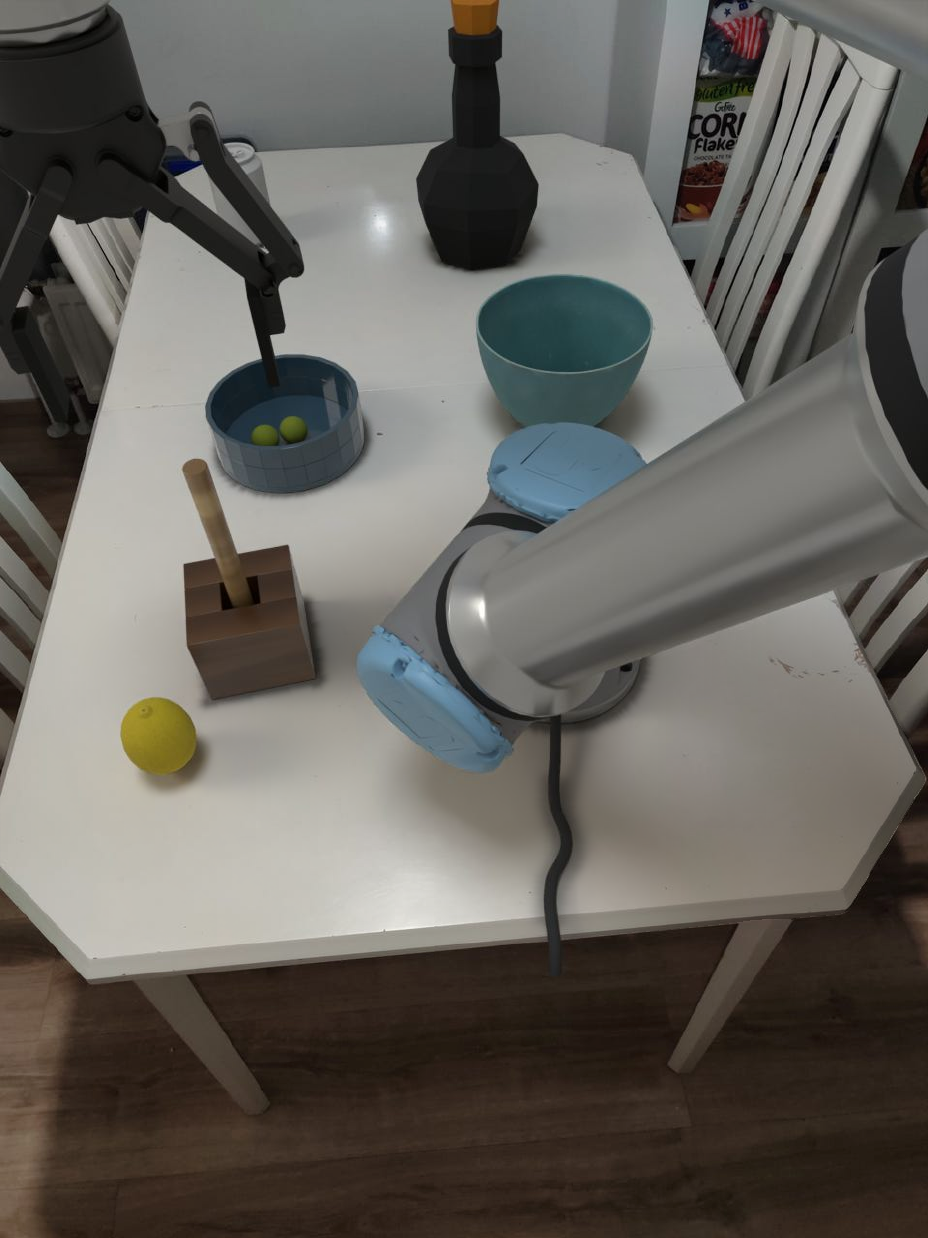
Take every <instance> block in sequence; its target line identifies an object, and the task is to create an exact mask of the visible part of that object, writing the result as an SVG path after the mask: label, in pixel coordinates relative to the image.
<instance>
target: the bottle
mask: <svg viewBox="0 0 928 1238" xmlns="http://www.w3.org/2000/svg"><path fill="white" fill-rule="evenodd" d="M450 6H451V15H452V22H453V26H451V27H450V28H448V29H447V35H448V36H447V39H448V40H447V43H448V57H449V59H450V60H451V62H452V64H453V65H454V70H453V80H452V88H451V89H452V90H451V116H452V117H451V118H452V120H451V121H452V137H451V138H449V139H447V141H444V142H442V143H440V144H438V145H436V146H434V147H432V148H430V149H429V151H428V153H427V155H426V158H425V159H424V162H423V164H422V165H421V168H420V170H419V172H418V174H417V176H416V178H415V183H416V192H417V200H418V204H419V207H420V211H421V214H422V217H423V220H424V223H425V227H426V228H427V231H428V233H429V236H430V238H431V240H432V243H433V245H434V248H435V250H436V253H437V255H438V257H439V259H440V262H441V263H444V264H448V265H451V266H454V267H458V268H461V269H464V270H467V271H471V272H472V271H479V270H485V269H491V268H492V269H493V268H498V267H499V268H500V267H505V266H507V265H508V264H509V263H510V262H511V261H512V260H513V259H514V258H515V257H516V256H517V255H518V254H519V253H521V251H522V248H523V246H524V243H525V241H526V237H527V235H528V232H529V231H530V227H531V224H532V221H533V219H534V216H535V213H536V210H537V208H538V199H539V189H540V187H539V186H540V183H539V181H538V180H537V178H536V176H535V174H534V172H533V170H532V168H531V166H530V164H529V162H528V160H527V158H526V156H525V154H524V153H523V151H522V150H521V149H520V148H519V146H518V145H517V144H516V143H515V142H513V141H511V140H510V139H508V138H505V137H504V136H501V94H500V86H499V85H500V84H499V78H498V71H497V65H496V64H497V62H498V61H499V60H501V59H502V58H503V29H502V28H501V27H500V26H499V25H498V16H499V6H500V0H450Z"/></svg>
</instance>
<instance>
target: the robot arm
mask: <svg viewBox="0 0 928 1238" xmlns="http://www.w3.org/2000/svg"><path fill="white" fill-rule="evenodd" d="M751 1H752V2H755V3H756V4H758V5H761V6H763V7H765V8H767V9H768V10H771V11H774V12H776V13H778V14H779V15H782V16H784V17H786V18H788V19H791V20H793V21H795V22H797V23H799V24H802V25H804V26H806V27H808V28H810V29H812V30H815V31H817V32H819V33H821V34H823V35H825V36H827V37H829V38H832V39H834V40H836V41H838V42H840V43H843V44H844V45H846V46H849V47H851V48H853V49H855V50H857V51H859V52H862V53H864V54H866V55H868V56H870V57H873V58H874V59H877V60H879V61H881V62H883V63H885V64H887V65H890V66H892V67H894V68H896V69H898V70H900V71H902V72H905V73H907V74H909V75H911V76H913V77H915V78H917V79H920V80H922V81H924V82H925V83H928V0H751ZM110 2H111V0H0V170H1V171H2V172H3V173H4V174H5V175H6V176H7V177H9V178H10V179H11V180H13V182H15V183H16V184H17V185H19V186H20V187H21V188H23V189H24V190H25V191H27V192H28V193H29V195H28V198H27V201H26V204H25V208H24V210H23V212H22V215H21V216H20V220H19V222H18V224H17V227H16V229H15V232H14V235H13V237H12V239H11V241H10V244H9V246H8V249H7V250H6V254H5V256H4V257H3V261H2V264H1V266H0V350H1V351H2V353H3V355H4V357H5V359H6V361H7V363H8V365H9V367H10V369H12V370H13V371H14V372H15V374H17V375H24V374H25V375H26V374H31V377H32V378H33V380H34V382H35V384H36V387H37V388H38V390H39V392H40V395H41V396H42V399H43V400H44V402H45V404H46V406H47V408H48V410H49V413H50V415H51V416H52V418H53V420H54V422H55V423H61V422H67V421H68V419H69V407H70V396H71V394H70V392H69V390H68V388H67V385H66V384H65V382H64V380H63V378H62V375H61V373H60V371H59V369H58V367H57V365H56V362H55V360H54V359H53V356H52V354H51V352H50V349H49V347H48V345H47V342H46V341H45V339H44V336H43V335H42V332H41V330H40V328H39V326H38V323H37V321H36V320H35V319H36V318H35V317H34V315H33V313H32V310H31V308H30V306H29V305H24V306H18V304H19V303H20V300H21V298H22V296H23V294H24V291H25V289H26V286H27V284H28V282H29V280H30V277H31V275H32V272H33V270H34V268H35V267H36V266H35V265H36V263H37V261H38V259H39V257H40V254H41V252H42V249H43V247H44V245H45V242H46V240H48V238H49V236H50V234H51V232H52V230H53V227H54V225H55V223H56V221H57V219H58V216H60V217H62V218H64V219H65V220H70V221H74V224H75V225H76V226H77V225H78V226H79V225H85V224H91V223H93V222H96V221H98V220H100V219H103V218H109V219H110V218H111V219H117V220H122V219H130V218H135V213H138V212H139V211H140V210H141V209H145V210H146V211H147V212H148V213H150V214H152V215H153V216H154V217H156V219H158V220H160V221H161V222H163V223H164V224H168V223H169V224H171V225H172V226H173V227H175V228H176V229H177V230H179V231H180V232H181V233H183V234H184V235H185V236H187V237H188V238H189V239H191V241H193V242H195V243H196V244H197V245H199V246H200V247H202V248H203V249H204V250H205V251H207V252H208V253H210V254H211V255H212V256H213V257H215V258H216V259H218V260H219V261H220V262H221V263H223V264H224V265H226V266H227V267H228V268H230V269H231V270H232V271H234V272H235V273H236V274H238V275H239V276H241V278H243V279H244V287H245V293H246V300H247V304H248V308H249V313H250V316H251V320H252V321H251V322H252V326H253V328H254V333H255V337H256V341H257V345H258V350H259V353H260V359H261V358H262V362H263V366H264V370H265V374H266V378H267V382H268V386H269V388H272V387H278V386H280V381H279V375H278V369H277V363H276V359H275V356H276V354H275V350H274V347H273V341H272V338H271V336H275V335H281V334H282V335H283V334H285V331H286V326H287V325H286V319H285V314H284V309H283V304H282V299H281V294H280V290H279V289H280V285H281V284H282V282H283V281H285V280H286V279H289V278H294V279H295V278H296V279H297V278H300V277H301V276H302V275H304V272H305V263H304V259H303V254H302V250H301V246H300V243H299V242H298V241H297V239H296V238H295V237H294V235H293V234H292V233H291V231H290V229H288V227H287V226H286V224H285V223H284V222H283V221H282V219H281V218H280V216H278V214H277V213H276V211H275V210H274V209H273V208H272V206H271V204H270V205H269V203H268V202H267V201H266V200H265V198H264V197H263V196H262V194H261V193H260V192H259V190H258V189H257V188H256V186H255V185H254V184H253V182H252V181H251V180H250V178H249V177H248V176H247V174H246V173H245V172H244V170H243V169H242V168H241V166H240V165H239V164H238V162H237V161H236V160H235V159H234V157H233V156H232V155H231V153H230V152H229V151H228V149H227V148H226V147H225V145H224V144H225V143H223V139H222V137H221V134H220V131H219V128H218V125H217V123H216V119H215V116H214V114H213V110H212V109H211V107H210V106H209V105H208V104H207V103H206V102H205V101H201V100H196V101H194V102H192V103H191V104H190V105H189V107H188V112H185V113H181V114H177V115H173V116H169V117H164V118H161V119H159V118H158V116H157V115H156V114H155V113H154V111H153V110H152V109H151V107H150V105H149V104H148V101H147V99H146V96H145V93H144V89H143V85H142V81H141V78H140V75H139V72H138V68H137V64H136V61H135V57H134V54H133V50H132V48H131V43H130V41H129V37H128V33H127V30H126V27H125V22H124V19H123V16H122V15H121V14H120V13H119V12H118V11H117V10H116V9H115V8H114V7H113V6H112V5H110V4H109V3H110ZM168 147H175V148H177V149H179V151H181V153H183V155H184V156H185V158H187V160H189V161H191V162H201V164H202V167H203V169H204V170H205V172H206V174H207V177H208V176H209V177H210V178H211V180H212V181H213V183H214V184H215V185H216V186H217V188H218V189H219V190H220V191H221V193H222V194H223V195H224V197H225V198H226V199H227V200H228V202H229V203H230V204H231V205H232V207H233V208H234V209H235V210H236V212H237V213H238V214H239V215H240V217H241V218H242V219H243V220H244V222H245V223H246V224H247V225H248V227H249V228H250V229H251V230H252V232H253V233H254V234H255V235H256V237H257V238H258V239H259V240H260V242H261V243H262V246H263V247H264V248H265V249H266V251H267V252H265V251H264V250H263V249H262V248H261V247H260V246H256V245H255V244H254V243H253V242H251V241H250V240H249V239H248V238H246V237H245V236H244V235H243V234H241V233H240V232H239V231H237V230H236V229H235V228H234V227H232V226H231V225H230V224H229V223H227V222H226V221H225V220H224V219H222V218H221V217H220V216H218V214H217V212H215V211H214V210H212V208H210V207H209V206H207V205H206V204H205V203H203V202H202V201H201V200H200V199H198V198H197V197H196V196H194V194H193V193H190V191H188V190H187V189H185V188H184V187H183V186H182V185H181V183H180V182H179V180H178V179H177V178H176V177H175V176H174V175H173V174H171V172H169V171H168V170H167V169H165V168H164V167H163V166H162V163H163V161H164V158H165V156H166V153H167V148H168ZM486 476H487V478H486V480H487V484H488V486H489V490H488V493H487V496H486V499H485V501H484V502H483V503H482V505H481V506H480V507H479V508H478V510H477V511H476V512H475V513H474V515H473V516H472V517H471V518H470V519H469V521H468V522H467V523H466V524H465V525H464V526H463V528H462V529H461V530H460V531H459V533H457V534H456V535H455V537H454V538H452V540H451V541H450V542H449V544H448V545H446V547H445V548H444V550H443V551H442V552H441V553H440V554H439V555H438V556H437V558H436V559H435V560H434V561H433V562H432V563H431V564H430V566H429V567H428V568H427V569H426V570H425V571H424V572H423V574H422V575H421V576H420V577H419V578H418V580H417V581H416V582H415V583H414V585H413V586H412V587H411V588H410V589H409V590H408V591H407V593H406V594H405V595H404V596H403V598H401V600H400V601H399V602H398V603H397V605H395V607H393V609H392V610H391V611H390V612H389V614H388V615H387V616H386V617H385V619H383V621H382V622H381V623H380V624H379V625H376V626H375V627H374V628H373V629H372V634H371V636H370V637H369V639H368V641H367V642H366V643H365V644H364V646H363V647H362V648H361V650H360V652H359V654H358V656H357V659H356V672H357V676H358V679H359V682H360V684H361V686H362V688H363V689H364V691H365V692H366V694H367V697H368V698H369V699H370V700H371V702H372V703H373V704H374V705H375V707H376V708H377V709H378V710H379V711H380V712H381V713H382V715H383V716H384V717H385V718H386V719H387V720H388V721H389V722H390V723H391V724H392V725H394V727H395V728H397V730H399V732H401V733H402V734H403V735H405V736H406V737H407V738H408V739H410V740H411V741H412V742H413V743H415V744H416V745H418V747H420V748H421V749H423V750H425V751H426V752H427V753H429V754H430V755H432V756H433V757H435V758H437V759H439V760H441V761H443V762H444V763H446V764H448V765H450V766H453V767H455V768H457V769H460V770H462V771H466V772H469V773H474V774H486V773H491V772H492V771H495V770H496V769H497V768H499V766H500V765H501V764H502V762H503V761H504V760H505V759H506V757H509V756H512V755H513V753H514V751H515V747H514V746H513V745H514V744H515V742H516V741H517V740H518V738H519V737H520V736H521V735H522V734H523V732H524V731H525V730H526V729H527V728H528V727H529V726H531V725H532V724H535V723H537V722H541V723H549V759H548V761H549V762H548V779H547V782H548V783H547V792H548V793H547V794H548V796H547V797H548V804H549V809H550V812H551V816H552V818H553V820H554V823H555V825H556V827H557V830H558V832H559V833H558V834H559V837H560V843H559V844H560V845H559V850H558V852H557V855H556V857H555V858H554V861H553V862H552V864H551V865H550V867H549V870H548V872H547V874H546V877H545V881H544V888H543V911H544V920H545V921H544V922H545V927H546V934H547V945H548V972H549V976H551V977H552V978H553V979H555V978H559V977H560V976H561V975H562V968H563V967H562V964H563V961H562V960H563V953H562V952H563V951H562V950H563V949H562V948H563V947H562V937H561V929H560V923H559V917H558V907H557V891H558V884H559V881H560V877H561V875H562V873H563V871H564V869H565V868H566V866H567V864H568V862H569V860H570V858H571V855H572V851H573V845H574V843H573V842H574V841H573V840H574V839H573V834H572V829H571V827H570V824H569V822H568V820H567V817H566V814H565V813H564V810H563V806H562V802H561V801H562V800H561V793H560V792H561V788H560V787H561V786H560V785H561V784H560V783H561V768H562V767H561V766H562V765H561V763H562V724H569V723H575V722H582V721H585V720H589V719H592V718H595V717H597V716H599V715H601V714H604V713H606V712H607V711H610V709H612V708H613V707H615V706H616V705H617V704H618V703H620V702H621V701H622V700H623V699H624V698H625V696H626V695H627V694H628V693H629V691H630V690H631V689H632V687H633V685H634V683H635V682H636V678H637V677H638V673H639V669H640V665H641V660H642V659H644V658H648V657H650V656H652V655H655V654H658V653H661V652H663V651H664V652H665V651H666V650H667V651H668V650H670V649H673V648H676V647H678V646H680V645H683V644H687V643H689V642H692V641H695V640H697V639H698V640H699V639H700V638H703V637H706V636H709V635H712V634H714V633H717V632H720V631H723V630H726V629H728V628H732V627H735V626H737V625H740V624H742V623H745V622H748V621H751V620H754V619H757V618H759V617H762V616H763V617H764V616H766V615H769V614H771V613H774V612H776V611H779V610H782V609H785V608H788V607H790V606H793V605H797V604H799V603H803V602H804V601H807V600H810V599H813V598H817V597H819V596H822V595H824V594H828V593H830V592H834V591H837V590H839V589H842V588H845V587H848V586H850V585H853V584H856V583H859V582H861V581H865V580H866V579H870V578H873V577H875V576H878V575H881V574H884V573H887V572H889V571H892V570H895V569H898V568H901V567H903V566H906V565H909V564H911V563H915V562H918V561H920V560H923V559H926V558H928V228H926V229H924V230H923V232H921V233H919V234H918V235H917V236H916V237H913V238H912V239H911V240H909V241H908V242H907V243H905V244H904V245H903V246H901V247H899V248H898V249H897V250H896V251H893V252H892V253H891V254H890V255H888V256H886V257H885V258H883V259H882V260H881V261H880V262H878V263H877V264H876V265H875V267H874V268H872V270H871V271H870V272H869V273H868V275H867V277H866V278H865V280H864V282H863V285H862V287H861V290H860V293H859V295H858V301H857V306H856V311H855V317H854V322H853V328H852V332H851V333H850V334H849V335H847V336H845V337H844V338H842V339H840V340H839V341H837V342H836V343H835V344H833V345H831V346H830V347H828V348H826V349H825V350H824V351H822V352H820V353H818V354H817V355H816V356H814V357H813V358H811V359H810V360H808V361H806V362H805V363H803V364H801V365H800V366H798V367H797V368H795V369H794V370H792V371H790V372H789V373H787V374H786V375H784V376H782V377H781V378H779V379H778V380H776V381H775V382H773V383H772V384H770V385H768V386H767V387H765V388H764V389H762V390H761V391H759V392H758V393H755V394H754V395H753V396H751V397H750V398H748V399H746V400H745V401H743V402H742V403H740V404H739V405H737V406H736V407H734V408H733V409H731V410H729V411H728V412H726V413H725V414H722V415H721V416H720V417H718V418H717V419H715V420H714V421H712V422H710V423H709V424H708V425H706V426H704V427H703V428H701V429H699V430H698V431H697V432H695V433H693V434H692V435H690V436H689V437H687V438H686V439H684V440H682V441H681V442H679V443H678V444H676V445H674V446H673V447H671V448H670V449H668V450H667V451H665V452H664V453H662V454H660V455H659V456H657V457H656V458H654V459H653V460H651V461H649V462H648V463H647V461H646V460H644V459H643V457H642V454H641V453H640V452H639V450H637V449H636V448H635V447H634V445H632V444H631V443H629V442H628V441H626V440H625V439H624V438H622V437H620V436H618V435H616V434H614V433H613V432H610V431H608V430H605V429H602V428H600V427H595V426H594V427H593V426H589V425H584V424H578V423H568V422H559V423H553V424H548V423H543V424H537V425H533V426H529V427H526V428H525V427H523V428H520V429H518V430H516V431H514V432H512V433H511V434H509V435H507V436H506V437H505V438H504V439H502V440H501V441H500V442H499V444H498V445H497V446H496V447H495V449H494V451H493V452H492V455H491V457H490V463H489V466H488V468H487V471H486Z"/></svg>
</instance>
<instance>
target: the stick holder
mask: <svg viewBox="0 0 928 1238" xmlns="http://www.w3.org/2000/svg"><path fill="white" fill-rule="evenodd" d="M238 556H239V559H240V562H241V565H242V568H243V571H244V574H245V577H246V580H247V583H248V586H249V589H250V592H251V595H252V598H253V601H254V603H255V605H250V606H245V607H239V608H233V606H232V603H231V600H230V598H229V595H228V592H227V589H226V587H225V584H224V581H223V579H222V576H221V573H220V571H219V568H218V565H217V563H216V560H215V557H213V558H208V559H207V558H206V559H201V560H196V561H191V562H186V563H183V564H182V569H183V570H182V571H183V591H184V612H185V613H184V614H185V636H186V637H185V639H186V641H185V642H186V647H187V650H188V652H189V654H190V656H191V658H192V660H193V663H194V665H195V667H196V669H197V671H198V673H199V675H200V677H201V680H202V682H203V685H204V686H205V688H206V690H207V692H208V695H209V697H210V699H211V700H218V699H222V698H226V697H227V698H228V697H232V696H237V695H243V694H247V693H252V692H256V691H257V692H258V691H261V690H262V691H263V690H266V689H272V688H276V687H280V686H287V685H291V684H295V683H300V682H301V683H302V682H306V681H311V680H316V672H315V665H314V660H313V659H314V658H313V652H312V646H311V645H312V644H311V640H310V639H311V638H310V633H309V627H308V620H307V614H306V613H307V612H306V607H305V601H304V598H303V593H302V590H301V586H300V582H299V579H298V575H297V571H296V568H295V563H294V560H293V556H292V552H291V549H290V545H289V544H284V545H278V546H272V547H267V548H262V549H257V550H251V551H245V552H240V553H238Z"/></svg>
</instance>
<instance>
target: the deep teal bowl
mask: <svg viewBox="0 0 928 1238" xmlns="http://www.w3.org/2000/svg"><path fill="white" fill-rule="evenodd" d="M653 320H654V319H653V317H652V315H651V312H650V310H649V309H648V306H646V304H645V303H644V302H643V301H642V300H641V299H640V298H639V297H637V296H636V295H635V294H634V293H633V292H631V291H630V290H628V289H626V288H624V287H622V286H620V285H618V284H615V283H613V282H611V281H608V280H604V279H601V278H597V277H593V276H587V275H582V274H572V273H571V274H569V273H553V274H552V273H551V274H542V275H536V276H531V277H526V278H522V279H519V280H516V281H513V282H511V283H509V284H508V283H507V284H506V285H504V286H502V287H501V288H499V289H497V290H496V291H494V292H492V294H491V295H489V296H487V298H486V299H485V300H484V301H483V302H482V303H481V305H480V307H479V309H478V311H477V313H476V318H475V333H476V340H477V346H478V351H479V356H480V360H481V363H482V366H483V369H484V371H485V375H486V377H487V380H488V382H489V384H490V386H491V388H492V390H493V392H494V393H495V395H496V397H497V399H498V400H499V402H500V403H501V405H502V406H503V407H504V408H505V409H506V411H507V412H508V413H509V414H510V415H511V416H512V417H513V418H514V419H515V420H516V421H517V422H518V423H519V424H521V425H522V426H523V428H526V427H529V426H533V425H537V424H543V423H548V424H553V423H559V422H568V423H578V424H584V425H589V426H593V427H595V426H597V425H598V424H599V423H600V422H602V421H603V420H604V419H605V418H607V417H608V416H609V415H610V414H612V412H613V411H614V410H615V409H616V408H617V407H618V405H620V403H621V402H622V401H623V400H624V398H625V396H626V395H627V394H628V392H629V391H630V390H631V387H632V386H633V384H634V383H635V381H636V379H637V377H638V375H639V373H640V371H641V369H642V366H643V364H644V362H645V359H646V356H647V354H648V351H649V347H650V344H651V340H652V335H653V330H654V322H653Z"/></svg>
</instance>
